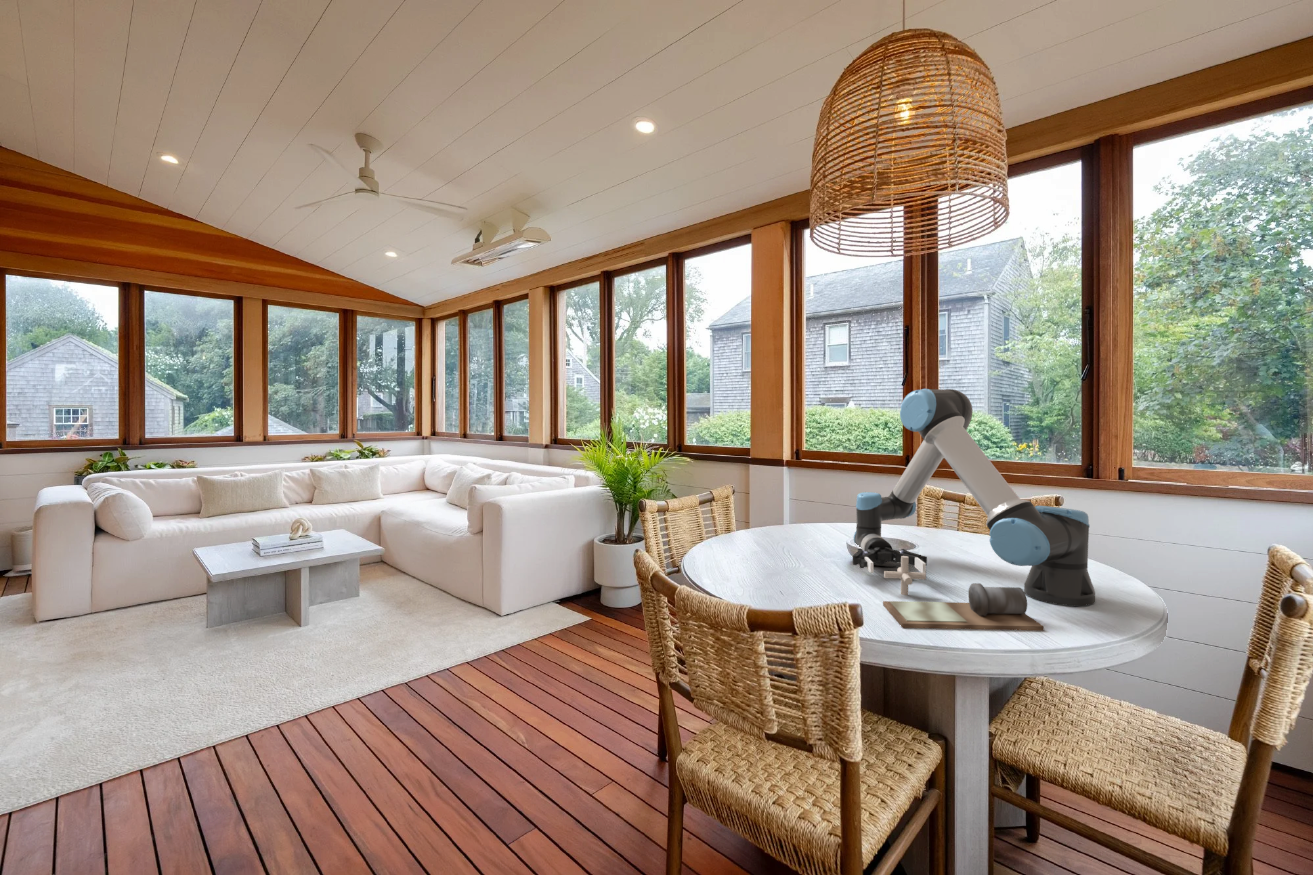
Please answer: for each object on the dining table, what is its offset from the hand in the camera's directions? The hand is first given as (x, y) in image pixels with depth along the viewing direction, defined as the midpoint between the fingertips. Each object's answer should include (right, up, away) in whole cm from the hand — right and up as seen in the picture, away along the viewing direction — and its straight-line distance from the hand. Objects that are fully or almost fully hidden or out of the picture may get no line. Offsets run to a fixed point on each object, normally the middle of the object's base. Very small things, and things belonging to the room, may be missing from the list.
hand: (898, 568), depth 159 cm
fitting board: (+6, -7, -21) cm, 22 cm away
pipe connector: (0, -6, -4) cm, 7 cm away
